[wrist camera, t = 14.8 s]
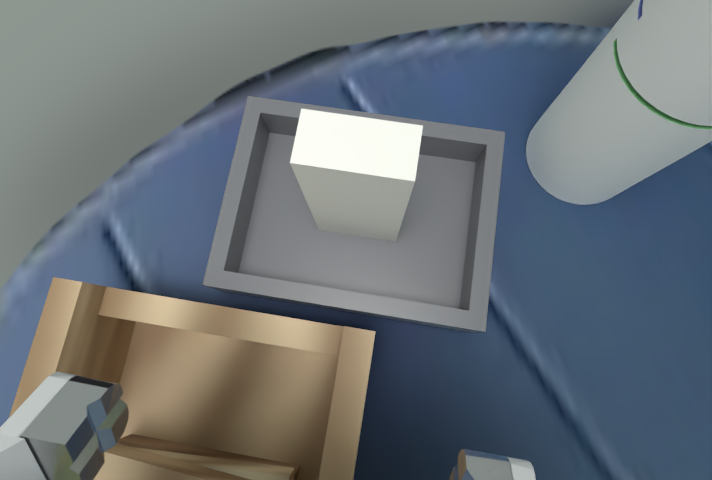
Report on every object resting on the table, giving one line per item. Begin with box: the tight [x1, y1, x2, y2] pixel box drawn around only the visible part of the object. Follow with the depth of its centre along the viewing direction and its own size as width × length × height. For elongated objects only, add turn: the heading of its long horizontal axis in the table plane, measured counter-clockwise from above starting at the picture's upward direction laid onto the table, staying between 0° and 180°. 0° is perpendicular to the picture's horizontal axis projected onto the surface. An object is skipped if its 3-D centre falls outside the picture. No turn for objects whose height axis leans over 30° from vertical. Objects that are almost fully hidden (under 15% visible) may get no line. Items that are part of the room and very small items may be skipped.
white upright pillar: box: [290, 108, 423, 242], centre depth 23 cm, size 5×2×11 cm, turn 81°
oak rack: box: [9, 277, 376, 480], centre depth 23 cm, size 16×16×7 cm
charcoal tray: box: [203, 96, 505, 333], centre depth 27 cm, size 16×12×4 cm
